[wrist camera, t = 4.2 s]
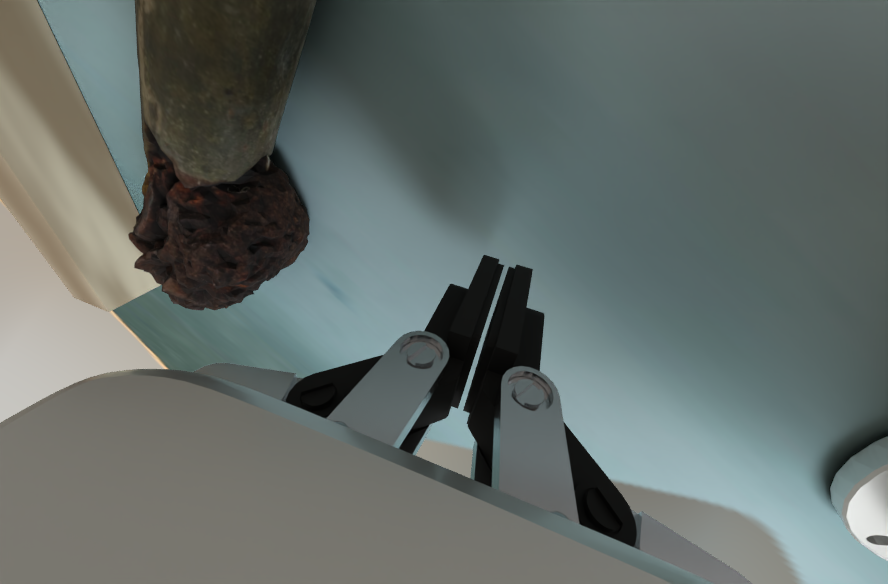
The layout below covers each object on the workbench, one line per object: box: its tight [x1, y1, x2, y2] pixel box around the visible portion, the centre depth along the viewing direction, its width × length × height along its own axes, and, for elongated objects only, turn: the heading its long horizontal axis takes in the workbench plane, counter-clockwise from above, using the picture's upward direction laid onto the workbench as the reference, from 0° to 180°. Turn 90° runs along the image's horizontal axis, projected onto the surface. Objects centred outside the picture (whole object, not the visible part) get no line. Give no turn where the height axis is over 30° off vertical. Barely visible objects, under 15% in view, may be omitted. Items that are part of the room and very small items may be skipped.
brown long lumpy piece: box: [128, 0, 317, 310], centre depth 12 cm, size 18×7×6 cm, turn 147°
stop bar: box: [0, 0, 161, 312], centre depth 16 cm, size 3×20×4 cm, turn 171°
